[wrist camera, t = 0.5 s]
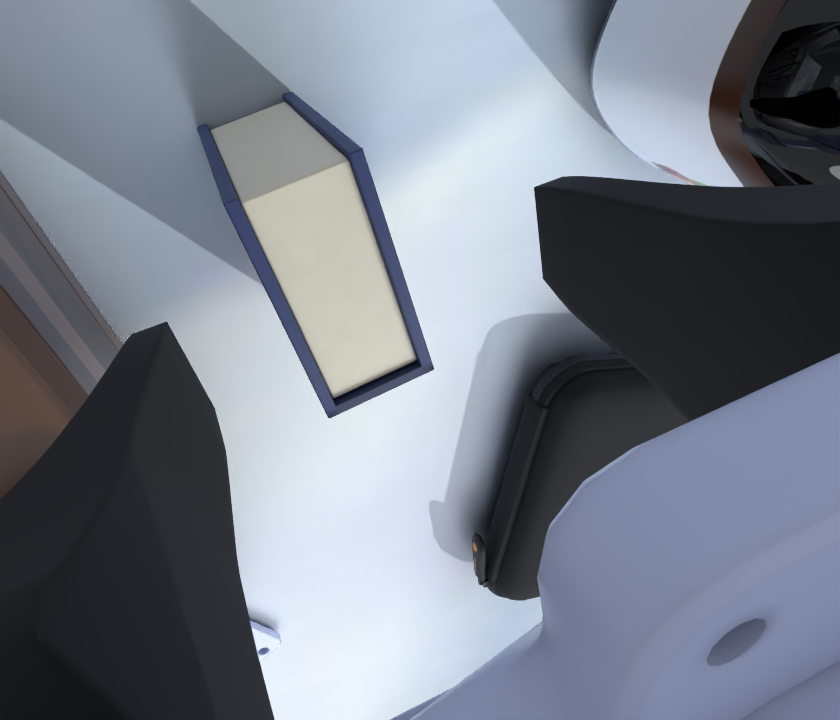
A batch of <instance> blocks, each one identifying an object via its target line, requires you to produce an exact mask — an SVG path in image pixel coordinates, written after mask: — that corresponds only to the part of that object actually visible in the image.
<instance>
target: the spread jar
mask: <svg viewBox="0 0 840 720" xmlns="http://www.w3.org/2000/svg"><path fill="white" fill-rule="evenodd" d="M590 87H591V94H592V98H593V101H594V104H595V107H596V109H597V111H598V113H599V115H600V117H601V119H602V120H603V122H604V124H605V125H606V126H607V128H608V129H609V131H610V132H611V133H612V134H613V135H614V137H615V138H616V139H617V140H618V141H619V142H620V143H621V144H622V145H623V146H624V147H626V148H627V149H628V150H629V151H631V152H632V153H633V154H635V155H636V156H638V157H639V158H641V159H642V160H644V161H645V162H647V163H649V164H650V165H652V166H654V167H656V168H658V169H660V170H662V171H664V172H666V173H668V174H670V175H672V176H674V177H676V178H678V179H680V180H682V181H685V182H687V183H689V184H691V185H699V186H719V187H768V186H797V185H812V184H824V183H835V182H840V0H614V1H613V3H612V5H611V8H610V10H609V12H608V14H607V17H606V19H605V22H604V24H603V27H602V29H601V32H600V35H599V38H598V41H597V44H596V48H595V51H594V55H593V59H592V65H591V71H590Z"/></svg>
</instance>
